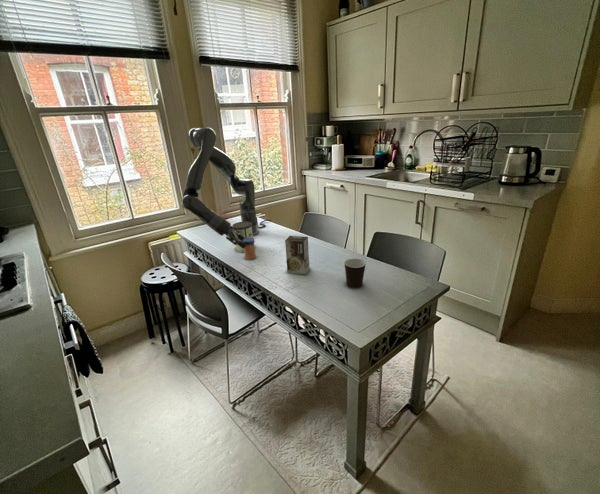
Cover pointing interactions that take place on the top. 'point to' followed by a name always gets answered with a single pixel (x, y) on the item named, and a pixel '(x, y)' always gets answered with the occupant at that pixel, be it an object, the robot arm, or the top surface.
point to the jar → (250, 252)
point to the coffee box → (297, 254)
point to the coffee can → (243, 232)
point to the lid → (248, 241)
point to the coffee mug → (354, 272)
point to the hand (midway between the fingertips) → (245, 243)
